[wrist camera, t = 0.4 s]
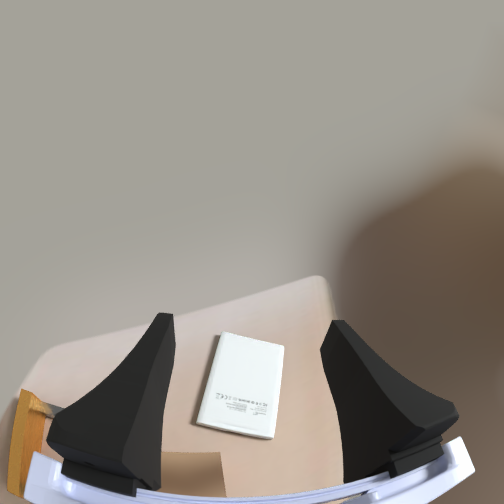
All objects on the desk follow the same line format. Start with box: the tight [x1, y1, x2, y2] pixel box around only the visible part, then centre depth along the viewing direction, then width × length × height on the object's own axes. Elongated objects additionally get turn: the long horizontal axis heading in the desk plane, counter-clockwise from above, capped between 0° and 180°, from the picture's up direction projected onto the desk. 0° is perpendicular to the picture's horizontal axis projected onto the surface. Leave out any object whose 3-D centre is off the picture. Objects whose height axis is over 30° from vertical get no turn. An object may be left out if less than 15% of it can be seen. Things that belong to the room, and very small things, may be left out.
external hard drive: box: [196, 332, 284, 439], centre depth 29 cm, size 2×8×12 cm
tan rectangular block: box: [156, 452, 227, 498], centre depth 17 cm, size 6×8×4 cm
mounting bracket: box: [7, 389, 65, 498], centre depth 14 cm, size 14×12×4 cm
